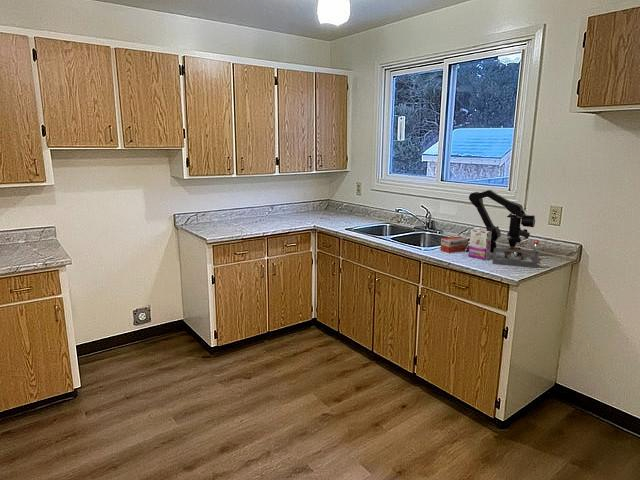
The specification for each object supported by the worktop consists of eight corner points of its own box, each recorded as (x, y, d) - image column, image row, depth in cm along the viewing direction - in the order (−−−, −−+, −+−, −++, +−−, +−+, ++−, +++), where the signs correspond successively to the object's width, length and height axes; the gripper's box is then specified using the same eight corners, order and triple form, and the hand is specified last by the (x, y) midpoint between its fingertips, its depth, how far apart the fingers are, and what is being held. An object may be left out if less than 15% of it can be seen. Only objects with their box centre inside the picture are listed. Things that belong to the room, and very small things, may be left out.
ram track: (532, 262, 237) (532, 261, 237) (530, 256, 250) (530, 255, 250) (539, 263, 236) (539, 262, 236) (537, 257, 249) (537, 256, 248)
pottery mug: (520, 262, 239) (513, 250, 239) (505, 266, 247) (499, 254, 247) (528, 254, 247) (522, 241, 246) (514, 257, 254) (507, 245, 254)
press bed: (492, 263, 235) (494, 248, 233) (492, 261, 241) (493, 245, 239) (536, 268, 227) (538, 251, 225) (535, 265, 233) (537, 249, 231)
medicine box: (448, 253, 258) (449, 240, 256) (440, 250, 265) (440, 238, 264) (467, 251, 264) (468, 238, 262) (458, 248, 271) (459, 236, 269)
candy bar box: (489, 258, 245) (492, 231, 242) (485, 260, 242) (488, 232, 239) (472, 255, 254) (474, 228, 250) (467, 256, 251) (470, 229, 247)
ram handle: (531, 257, 245) (533, 240, 242) (531, 256, 247) (533, 239, 245) (537, 258, 244) (539, 240, 241) (537, 256, 246) (539, 239, 244)
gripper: (531, 229, 239) (528, 255, 243) (528, 223, 256) (525, 248, 260) (510, 227, 243) (507, 254, 246) (508, 222, 260) (505, 246, 263)
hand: (512, 250), depth 254 cm, fingers closed
